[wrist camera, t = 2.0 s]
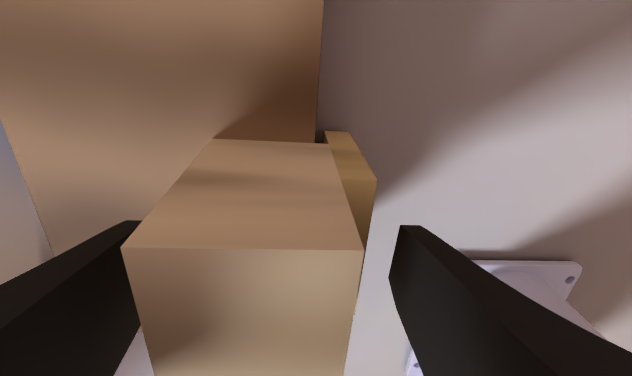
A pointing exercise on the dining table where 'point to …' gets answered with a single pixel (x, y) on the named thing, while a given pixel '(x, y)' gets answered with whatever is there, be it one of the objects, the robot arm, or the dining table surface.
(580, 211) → the dining table surface
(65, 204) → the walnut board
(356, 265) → the tan wood block
